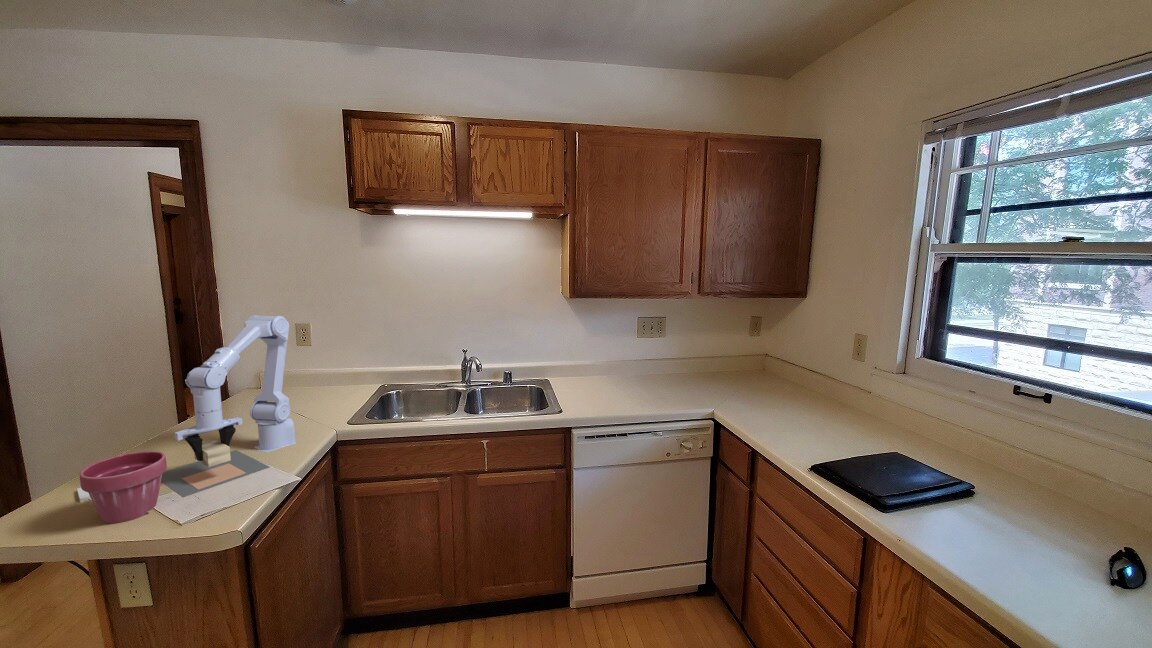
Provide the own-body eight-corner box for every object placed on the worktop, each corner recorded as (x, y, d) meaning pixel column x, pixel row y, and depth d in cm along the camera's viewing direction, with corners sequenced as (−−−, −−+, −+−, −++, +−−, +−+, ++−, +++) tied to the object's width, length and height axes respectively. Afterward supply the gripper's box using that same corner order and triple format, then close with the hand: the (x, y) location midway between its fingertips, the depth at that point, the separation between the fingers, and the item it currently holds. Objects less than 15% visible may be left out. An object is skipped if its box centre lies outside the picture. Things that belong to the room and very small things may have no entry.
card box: (230, 460, 119) (229, 446, 119) (208, 467, 115) (207, 453, 115) (216, 452, 124) (215, 439, 123) (194, 459, 119) (193, 445, 119)
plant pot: (149, 524, 98) (143, 472, 97) (68, 535, 94) (60, 481, 92) (182, 493, 112) (177, 447, 110) (112, 502, 107) (106, 454, 105)
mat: (236, 451, 137) (236, 449, 137) (270, 468, 126) (270, 466, 126) (152, 477, 120) (151, 474, 120) (183, 499, 109) (183, 496, 109)
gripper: (233, 400, 126) (236, 444, 127) (168, 414, 113) (173, 462, 115) (244, 404, 122) (247, 449, 124) (178, 419, 110) (183, 469, 112)
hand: (212, 456), depth 119 cm, fingers closed on card box, 5 cm apart
